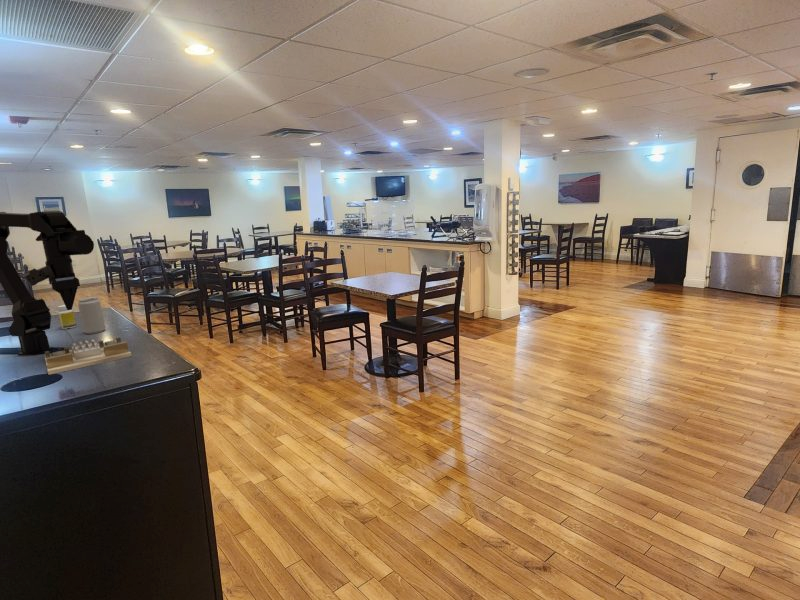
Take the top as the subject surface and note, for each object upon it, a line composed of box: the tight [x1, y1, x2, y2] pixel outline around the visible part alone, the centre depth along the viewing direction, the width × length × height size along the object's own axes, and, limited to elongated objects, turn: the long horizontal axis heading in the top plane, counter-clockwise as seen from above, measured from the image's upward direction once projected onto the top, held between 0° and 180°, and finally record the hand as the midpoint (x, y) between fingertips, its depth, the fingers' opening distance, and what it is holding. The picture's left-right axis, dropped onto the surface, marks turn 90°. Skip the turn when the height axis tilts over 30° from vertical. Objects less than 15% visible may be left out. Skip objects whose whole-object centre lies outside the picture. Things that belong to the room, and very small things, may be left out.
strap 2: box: [103, 339, 117, 346], centre depth 138 cm, size 12×3×1 cm, turn 38°
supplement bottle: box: [57, 304, 77, 330], centre depth 175 cm, size 5×5×8 cm
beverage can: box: [77, 296, 106, 335], centre depth 165 cm, size 6×6×12 cm
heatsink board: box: [43, 336, 132, 376], centre depth 135 cm, size 20×19×4 cm
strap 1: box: [50, 350, 64, 357], centre depth 131 cm, size 12×3×1 cm, turn 38°
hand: (69, 309), depth 138 cm, fingers closed
